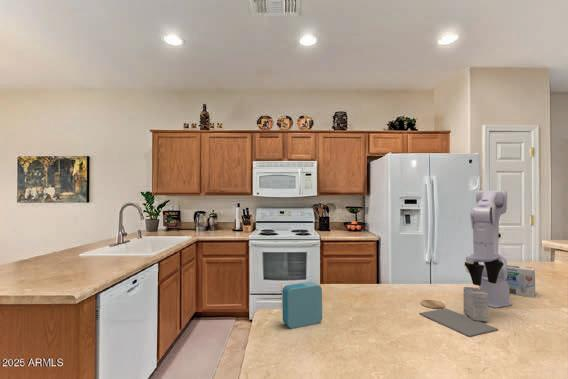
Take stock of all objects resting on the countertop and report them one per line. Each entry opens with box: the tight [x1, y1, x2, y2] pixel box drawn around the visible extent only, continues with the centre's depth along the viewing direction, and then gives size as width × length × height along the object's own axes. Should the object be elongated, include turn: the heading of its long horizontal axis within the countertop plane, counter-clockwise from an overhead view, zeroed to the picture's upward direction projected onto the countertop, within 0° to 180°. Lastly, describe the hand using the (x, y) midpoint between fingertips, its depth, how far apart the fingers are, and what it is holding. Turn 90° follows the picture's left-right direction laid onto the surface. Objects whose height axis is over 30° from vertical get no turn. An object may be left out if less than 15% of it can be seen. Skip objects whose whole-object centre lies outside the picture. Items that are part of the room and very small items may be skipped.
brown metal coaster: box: [420, 299, 446, 310], centre depth 108 cm, size 8×8×1 cm
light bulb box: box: [505, 264, 536, 299], centre depth 121 cm, size 11×7×11 cm, turn 49°
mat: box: [418, 307, 499, 338], centre depth 93 cm, size 12×18×1 cm, turn 21°
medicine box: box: [462, 286, 489, 323], centre depth 97 cm, size 8×4×9 cm, turn 168°
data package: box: [281, 281, 323, 329], centre depth 93 cm, size 12×4×12 cm, turn 114°
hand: (484, 283), depth 99 cm, fingers open, 7 cm apart
